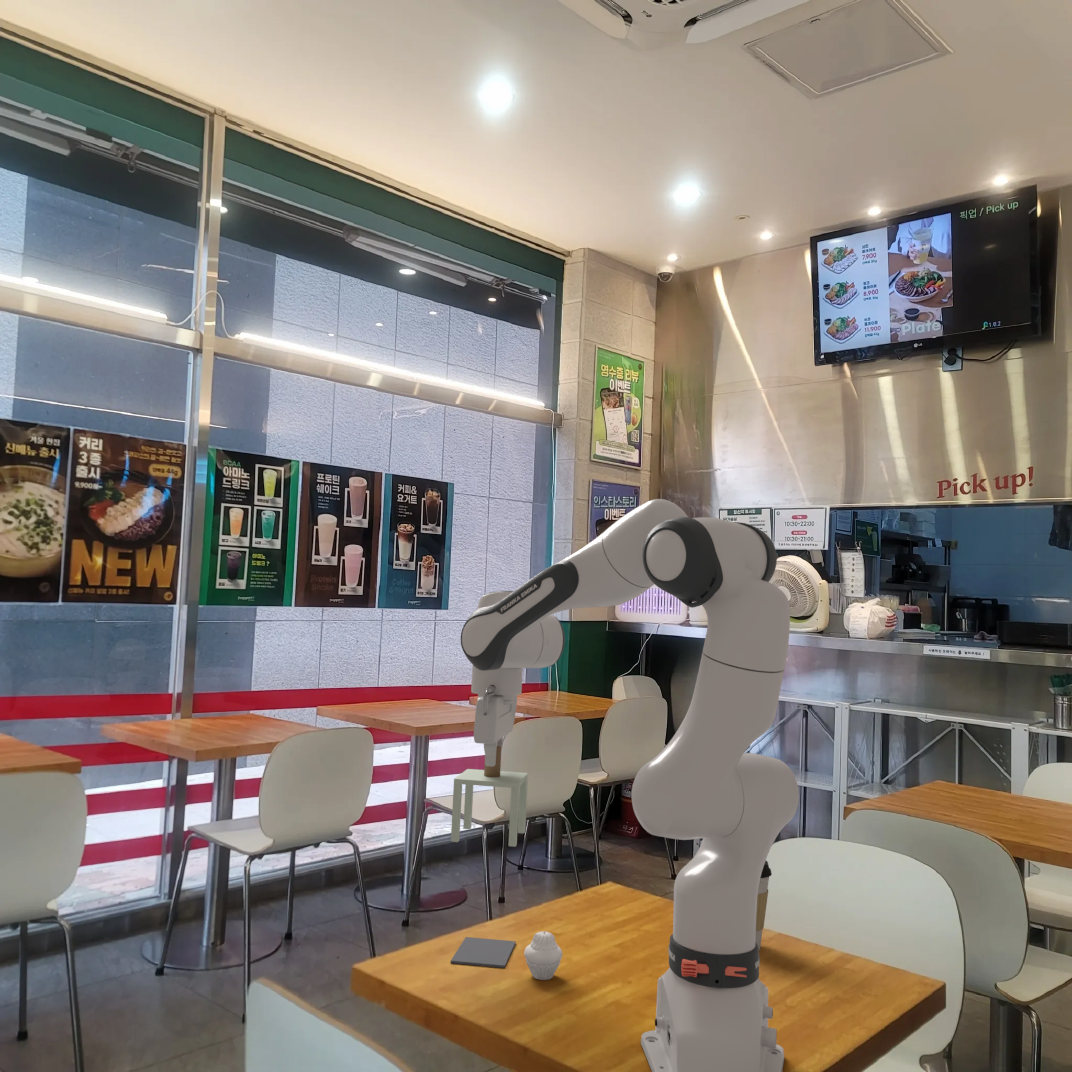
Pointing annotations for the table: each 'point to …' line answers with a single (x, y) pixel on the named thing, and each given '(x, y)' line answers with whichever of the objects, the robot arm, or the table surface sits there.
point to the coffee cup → (762, 902)
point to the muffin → (543, 955)
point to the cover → (495, 779)
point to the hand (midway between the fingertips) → (492, 764)
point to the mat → (484, 952)
